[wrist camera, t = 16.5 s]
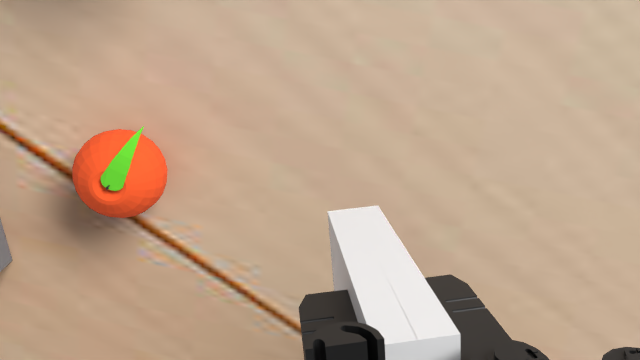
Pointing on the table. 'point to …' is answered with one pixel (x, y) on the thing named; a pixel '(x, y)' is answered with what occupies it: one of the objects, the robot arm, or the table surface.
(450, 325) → the robot arm
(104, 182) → the clementine
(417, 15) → the table surface
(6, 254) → the switch panel
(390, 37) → the table surface
